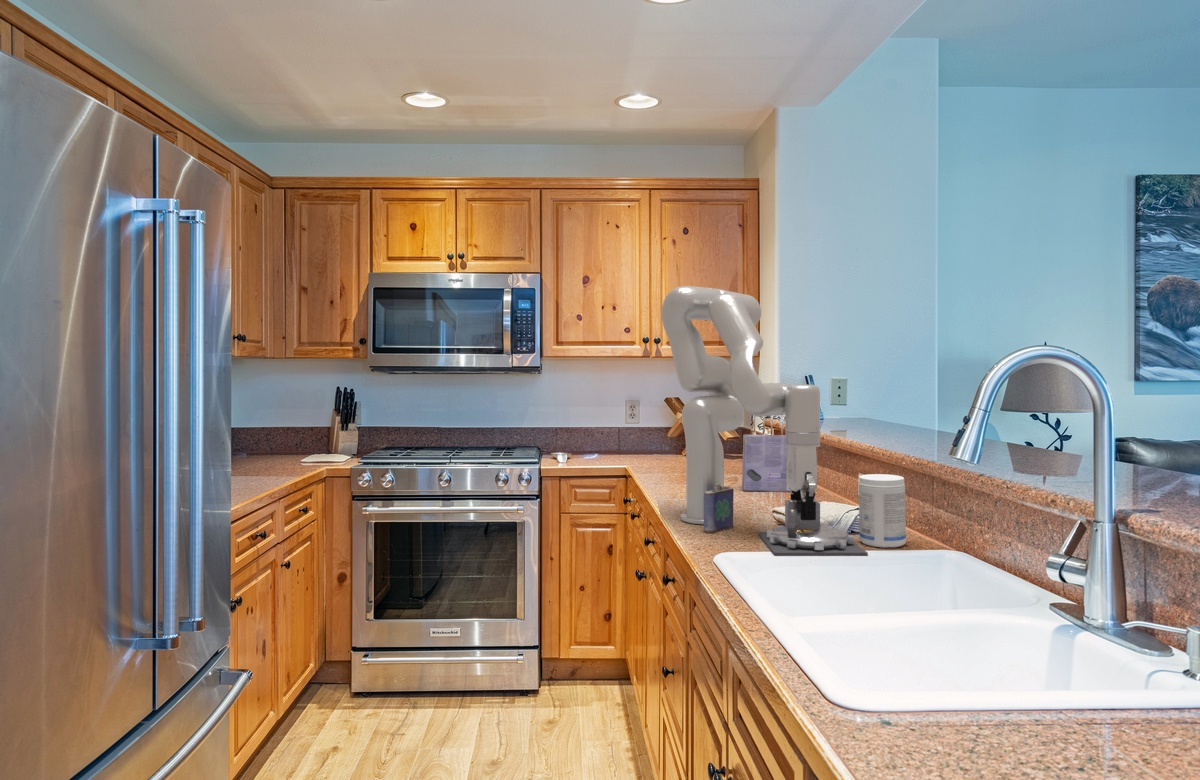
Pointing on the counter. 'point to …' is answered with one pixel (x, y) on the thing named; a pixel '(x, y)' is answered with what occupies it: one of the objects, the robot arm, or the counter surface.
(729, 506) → the flask
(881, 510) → the supplement tub
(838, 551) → the base mat
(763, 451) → the purple product box
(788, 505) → the grey rectangular block
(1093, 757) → the counter surface
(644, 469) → the counter surface
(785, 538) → the sprocket
